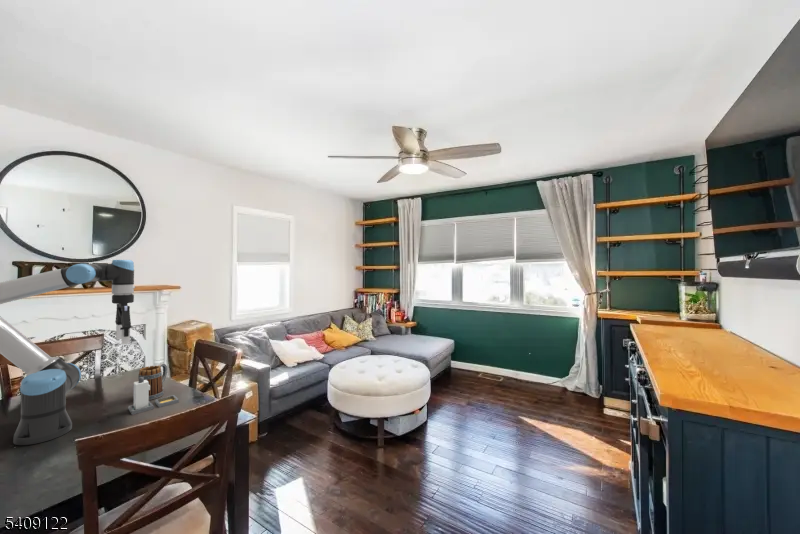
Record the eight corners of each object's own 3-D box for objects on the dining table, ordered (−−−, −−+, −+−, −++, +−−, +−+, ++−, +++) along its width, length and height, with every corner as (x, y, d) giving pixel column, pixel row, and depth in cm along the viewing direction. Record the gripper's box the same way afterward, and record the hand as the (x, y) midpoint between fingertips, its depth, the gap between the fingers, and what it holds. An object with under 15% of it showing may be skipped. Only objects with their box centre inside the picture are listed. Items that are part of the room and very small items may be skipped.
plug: (135, 412, 142) (135, 380, 142) (133, 409, 145) (133, 377, 145) (150, 408, 146) (150, 377, 146) (148, 405, 149) (148, 374, 149)
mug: (152, 403, 154) (152, 371, 153) (130, 403, 154) (130, 371, 154) (175, 390, 169) (176, 361, 169) (155, 390, 169) (155, 361, 169)
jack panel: (131, 418, 139) (131, 412, 139) (126, 410, 146) (126, 405, 146) (180, 405, 152) (180, 400, 152) (174, 398, 159) (174, 393, 159)
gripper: (139, 295, 141) (139, 344, 141) (128, 291, 158) (128, 335, 158) (116, 296, 135) (116, 347, 136) (107, 292, 152) (107, 338, 152)
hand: (122, 341), depth 147 cm, fingers open, 13 cm apart
